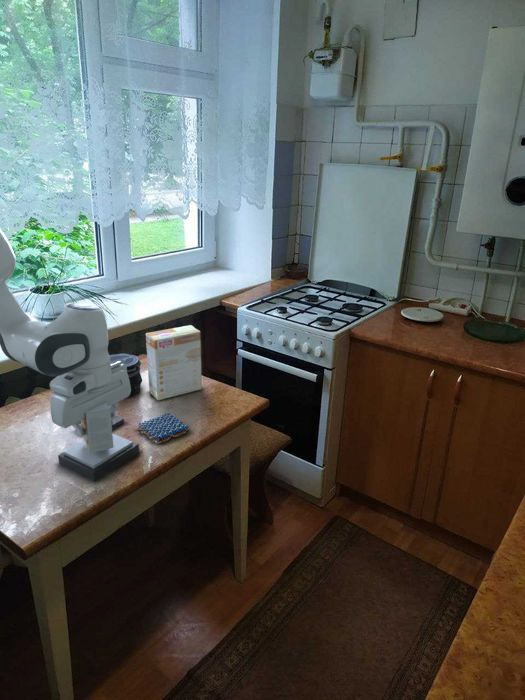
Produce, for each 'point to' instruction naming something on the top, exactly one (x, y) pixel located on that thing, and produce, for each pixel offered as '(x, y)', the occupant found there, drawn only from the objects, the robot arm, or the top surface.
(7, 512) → the top surface
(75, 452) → the scale
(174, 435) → the woven mat
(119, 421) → the dark grey button base
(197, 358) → the coffeecake box
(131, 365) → the container
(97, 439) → the small box
